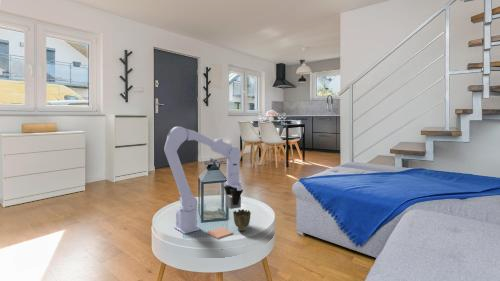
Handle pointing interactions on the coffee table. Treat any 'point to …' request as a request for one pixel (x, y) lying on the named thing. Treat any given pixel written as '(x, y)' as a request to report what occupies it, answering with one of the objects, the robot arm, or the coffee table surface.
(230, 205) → the letter block
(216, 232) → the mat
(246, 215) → the cup
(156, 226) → the coffee table surface
